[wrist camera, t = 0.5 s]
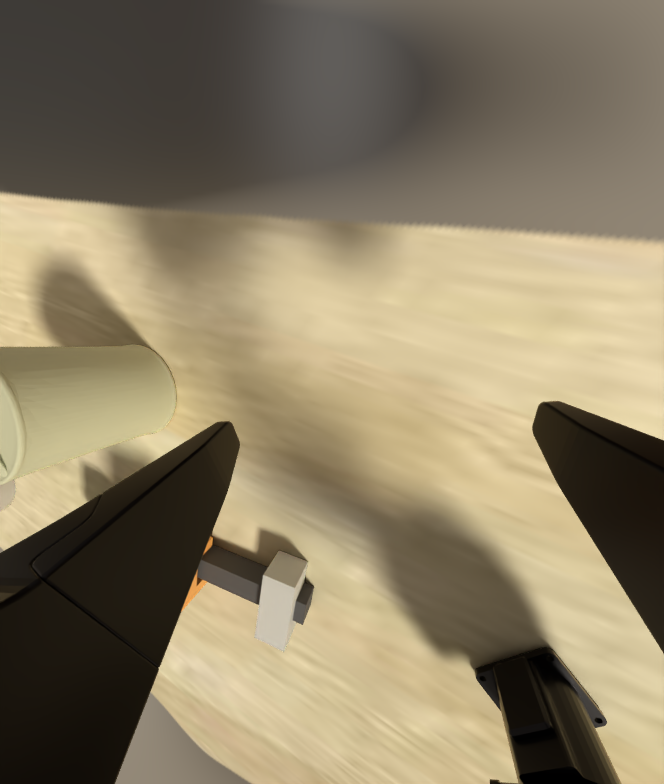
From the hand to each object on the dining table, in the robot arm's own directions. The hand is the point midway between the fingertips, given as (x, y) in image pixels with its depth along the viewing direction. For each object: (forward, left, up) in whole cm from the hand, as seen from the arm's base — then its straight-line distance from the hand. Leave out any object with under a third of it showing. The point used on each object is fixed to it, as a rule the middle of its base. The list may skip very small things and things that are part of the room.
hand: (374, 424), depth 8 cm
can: (+15, +21, -14) cm, 29 cm away
